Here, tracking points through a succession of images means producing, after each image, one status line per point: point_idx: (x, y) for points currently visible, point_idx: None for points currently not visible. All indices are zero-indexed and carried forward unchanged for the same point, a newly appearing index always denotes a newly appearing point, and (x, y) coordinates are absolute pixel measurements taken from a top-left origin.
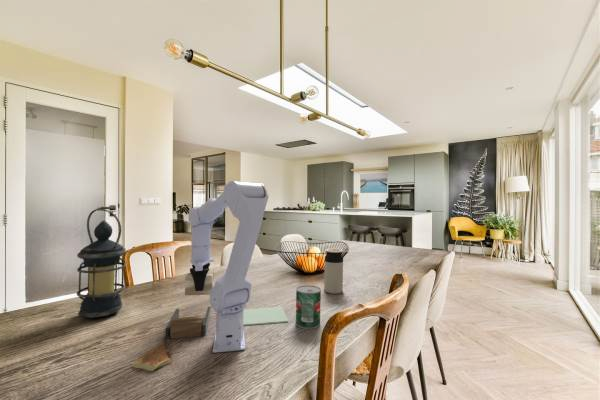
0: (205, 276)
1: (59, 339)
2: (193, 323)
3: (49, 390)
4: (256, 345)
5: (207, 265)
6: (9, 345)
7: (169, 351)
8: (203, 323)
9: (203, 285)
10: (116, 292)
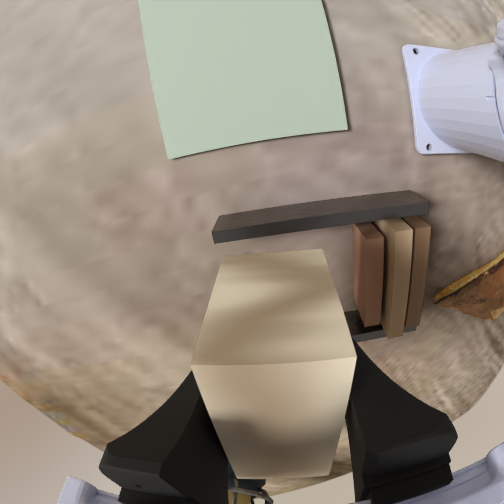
0: (404, 392)
1: (341, 453)
2: (426, 253)
3: (491, 377)
4: (467, 21)
5: (175, 472)
6: (345, 473)
7: (490, 268)
8: (413, 215)
9: (357, 344)
10: (239, 489)
